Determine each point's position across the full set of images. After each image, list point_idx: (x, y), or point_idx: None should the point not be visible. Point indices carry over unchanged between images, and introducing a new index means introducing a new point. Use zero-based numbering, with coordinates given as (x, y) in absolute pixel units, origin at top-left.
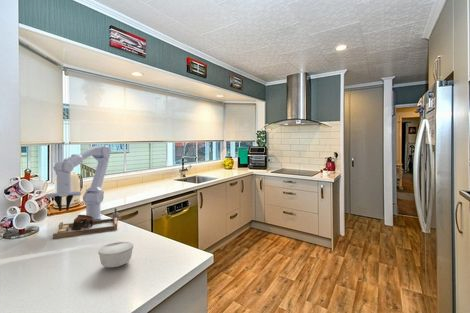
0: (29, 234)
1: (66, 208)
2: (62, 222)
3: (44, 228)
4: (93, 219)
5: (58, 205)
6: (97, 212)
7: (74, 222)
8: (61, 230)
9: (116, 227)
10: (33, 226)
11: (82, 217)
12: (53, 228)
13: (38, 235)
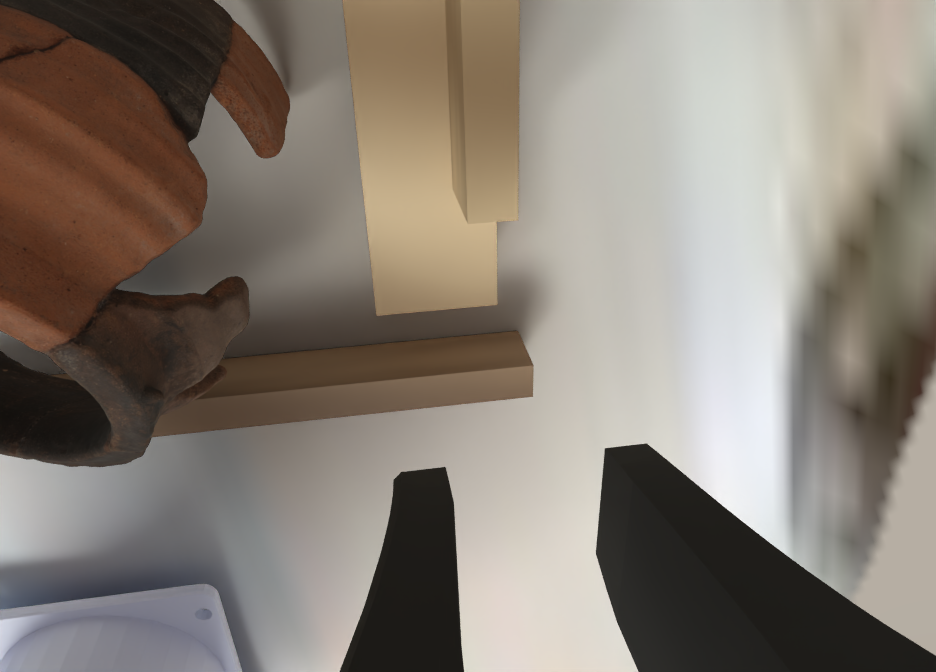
0: (905, 202)
1: (443, 514)
2: (472, 178)
3: (731, 443)
4: (72, 604)
5: (807, 595)
6: None
7: (162, 83)
8: None
9: None
10: (846, 570)
11: None
12: (619, 398)
13: (796, 63)
